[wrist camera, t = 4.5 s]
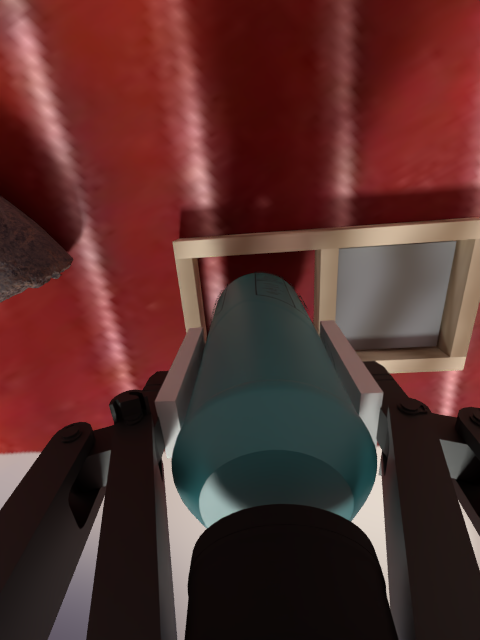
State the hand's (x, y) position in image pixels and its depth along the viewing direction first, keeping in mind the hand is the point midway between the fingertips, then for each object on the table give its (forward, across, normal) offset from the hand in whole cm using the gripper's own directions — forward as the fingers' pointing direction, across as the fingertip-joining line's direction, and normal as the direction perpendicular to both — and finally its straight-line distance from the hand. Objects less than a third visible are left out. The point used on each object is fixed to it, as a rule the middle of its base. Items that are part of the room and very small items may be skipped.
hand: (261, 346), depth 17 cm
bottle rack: (+8, +5, 0) cm, 9 cm away
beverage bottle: (+7, 0, 0) cm, 7 cm away
